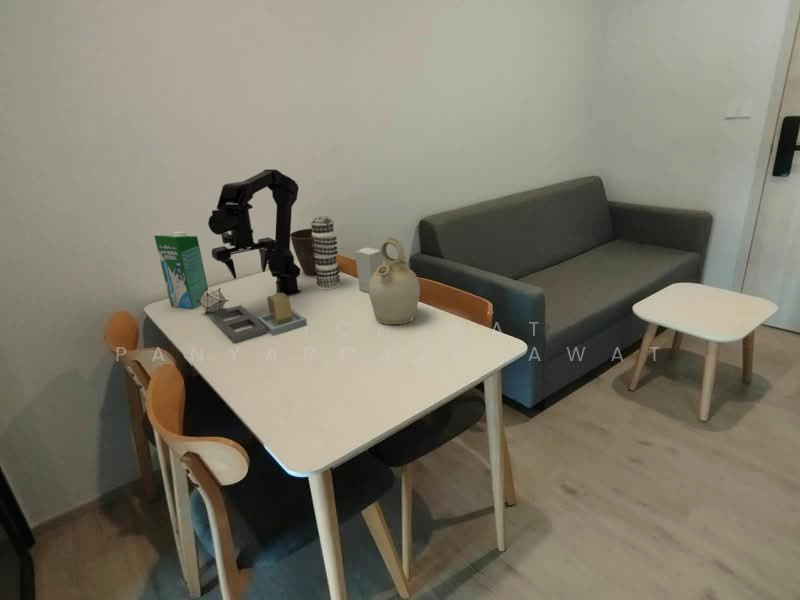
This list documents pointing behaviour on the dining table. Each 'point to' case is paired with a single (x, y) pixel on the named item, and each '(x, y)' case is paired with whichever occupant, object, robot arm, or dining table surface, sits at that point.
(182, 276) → the milk carton
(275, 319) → the tan rectangular block
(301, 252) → the plant pot
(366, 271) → the skincare box
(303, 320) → the tray
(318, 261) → the patterned tower model
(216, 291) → the game die
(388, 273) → the jug
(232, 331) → the grey flat frame
